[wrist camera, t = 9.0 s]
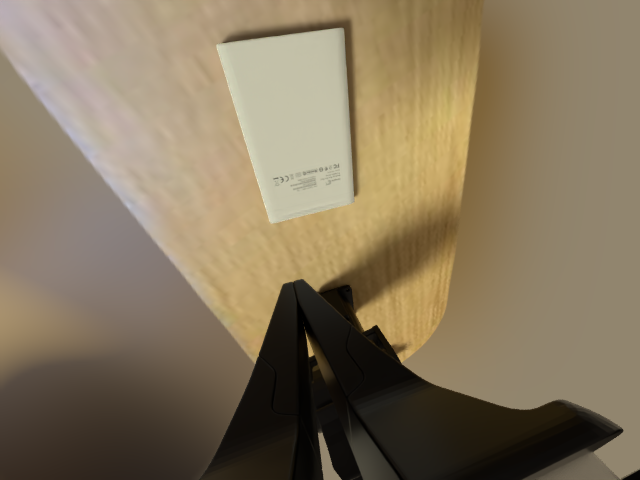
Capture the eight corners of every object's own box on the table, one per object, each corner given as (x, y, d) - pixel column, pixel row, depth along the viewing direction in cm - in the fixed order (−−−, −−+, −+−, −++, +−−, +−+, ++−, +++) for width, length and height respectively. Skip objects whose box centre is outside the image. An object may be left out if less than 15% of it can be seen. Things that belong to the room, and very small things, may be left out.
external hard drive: (337, 32, 16) (349, 197, 23) (218, 48, 15) (268, 217, 22) (345, 26, 14) (356, 203, 21) (214, 43, 13) (270, 225, 20)
